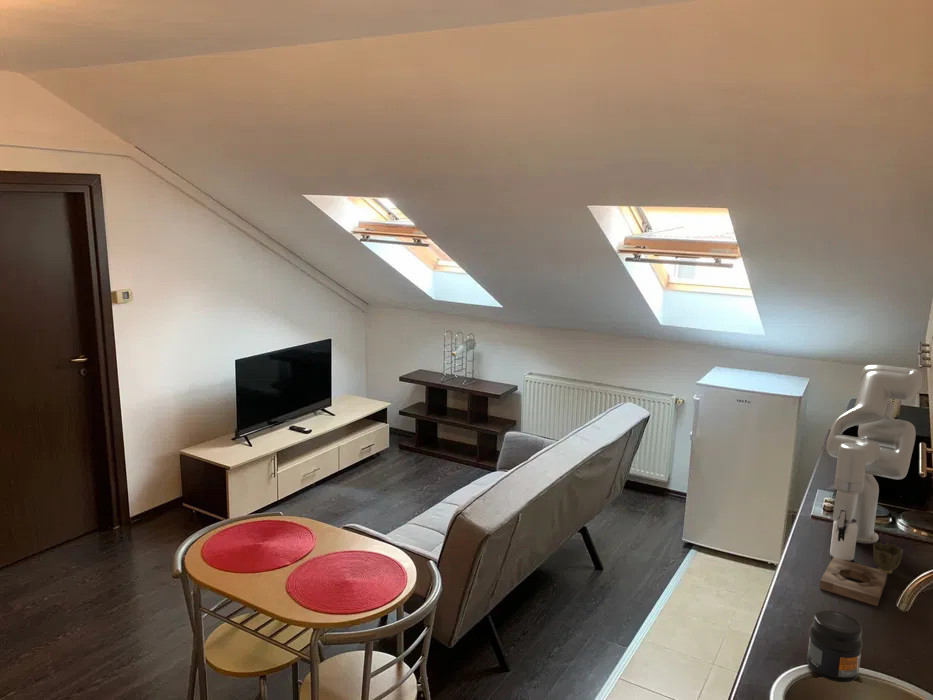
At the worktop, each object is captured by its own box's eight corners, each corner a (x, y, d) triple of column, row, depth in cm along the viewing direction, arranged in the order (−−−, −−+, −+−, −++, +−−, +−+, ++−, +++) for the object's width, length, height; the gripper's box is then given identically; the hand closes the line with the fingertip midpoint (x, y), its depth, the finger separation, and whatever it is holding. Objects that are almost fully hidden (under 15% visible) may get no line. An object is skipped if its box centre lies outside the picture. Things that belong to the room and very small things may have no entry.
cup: (874, 576, 194) (877, 550, 193) (867, 564, 201) (870, 540, 200) (903, 580, 192) (907, 554, 191) (894, 568, 199) (898, 543, 198)
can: (858, 562, 201) (862, 524, 200) (836, 560, 201) (840, 522, 200) (846, 553, 208) (851, 516, 206) (825, 551, 208) (830, 514, 206)
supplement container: (869, 682, 147) (876, 632, 145) (827, 687, 146) (833, 637, 143) (835, 653, 158) (841, 606, 156) (795, 657, 156) (801, 610, 154)
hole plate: (832, 564, 201) (833, 557, 200) (886, 580, 192) (887, 572, 192) (819, 588, 187) (820, 580, 187) (877, 606, 178) (878, 597, 178)
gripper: (840, 473, 210) (834, 526, 213) (829, 490, 197) (823, 546, 200) (867, 478, 205) (861, 533, 209) (858, 496, 192) (851, 554, 196)
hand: (842, 539), depth 205 cm, fingers closed on can, 4 cm apart
